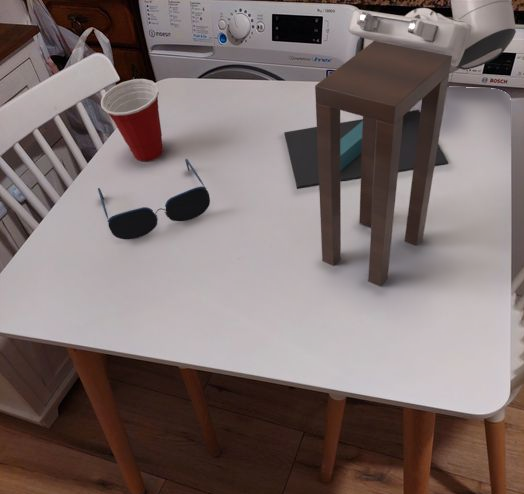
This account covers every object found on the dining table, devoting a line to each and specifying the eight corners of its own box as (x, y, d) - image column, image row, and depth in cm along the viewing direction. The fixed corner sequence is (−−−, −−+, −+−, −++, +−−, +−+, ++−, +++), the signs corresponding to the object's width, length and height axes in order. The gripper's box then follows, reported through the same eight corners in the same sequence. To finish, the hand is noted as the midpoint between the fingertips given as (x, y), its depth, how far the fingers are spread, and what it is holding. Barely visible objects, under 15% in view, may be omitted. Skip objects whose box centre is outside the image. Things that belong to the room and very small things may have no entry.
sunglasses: (117, 245, 85) (105, 219, 81) (105, 207, 95) (94, 182, 92) (214, 211, 87) (206, 185, 84) (192, 178, 97) (185, 153, 94)
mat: (418, 111, 98) (418, 109, 98) (447, 163, 87) (448, 161, 87) (284, 134, 99) (284, 132, 99) (297, 188, 88) (296, 186, 88)
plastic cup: (111, 166, 100) (87, 106, 91) (139, 136, 106) (119, 77, 96) (158, 173, 96) (138, 111, 87) (185, 141, 102) (168, 80, 93)
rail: (389, 113, 99) (390, 97, 96) (402, 117, 97) (404, 101, 95) (320, 171, 90) (319, 156, 87) (334, 176, 88) (334, 161, 86)
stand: (366, 216, 82) (374, 40, 61) (423, 238, 77) (452, 55, 57) (322, 260, 77) (314, 85, 56) (380, 286, 72) (395, 106, 52)
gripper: (375, 10, 95) (337, -9, 85) (481, 26, 85) (453, 6, 75) (364, 49, 98) (327, 34, 88) (466, 68, 88) (437, 55, 78)
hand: (386, 21), depth 81 cm, fingers open, 8 cm apart
